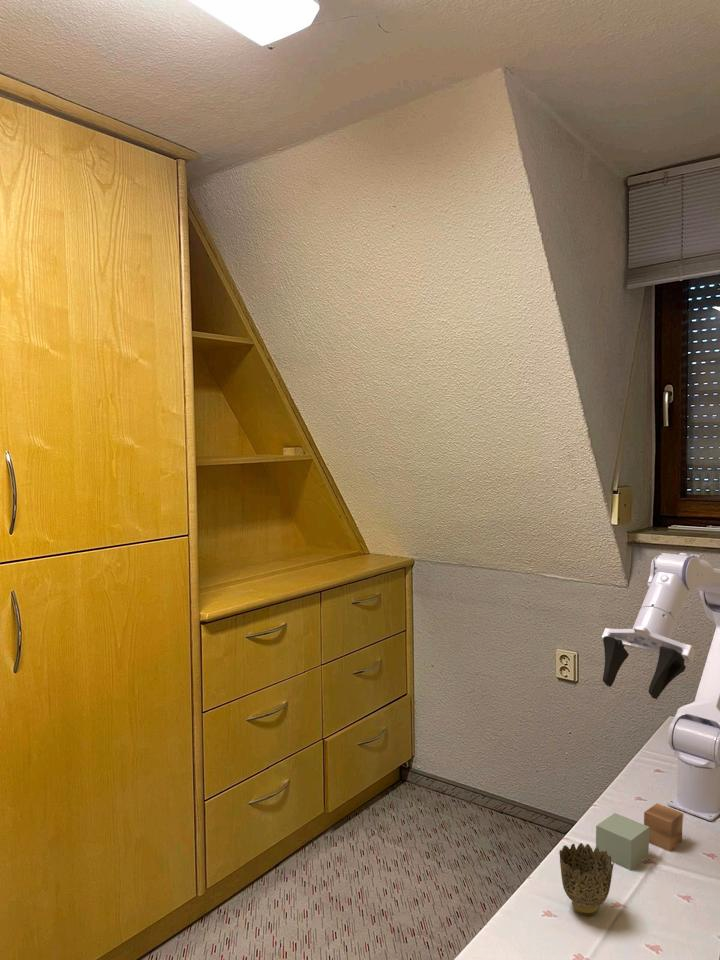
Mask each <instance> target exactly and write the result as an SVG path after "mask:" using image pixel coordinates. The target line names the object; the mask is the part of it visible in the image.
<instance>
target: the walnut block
mask: <svg viewBox="0 0 720 960" xmlns="http://www.w3.org/2000/svg"><path fill="white" fill-rule="evenodd" d="M683 817H684V815H683V812H681V811H680V810H679V811H678V810H675V809H673V808H671V807H667V806H666V805H663V804H660V803H655V804H654V805H652V806H651V807H649V808H648V809H647V810H645V811H644V814H643V825H646V826H648V827H649V845H653V846H655V847H658V848H660V849H663V850H665V851H667V852H669V853H670V852H671V851H672V850H674V849H676V847H677V846H679V845H680V844H681V843H682V842H683V821H684V820H683V819H684V818H683Z"/></svg>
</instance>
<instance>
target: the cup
mask: <svg viewBox="0 0 720 960" xmlns="http://www.w3.org/2000/svg"><path fill="white" fill-rule="evenodd" d="M558 854H559V863H560V864H559V865H560V867H559V868H560V873H561V874H560V875H561V883H562V886H563V890H564V892H565V894H566V896H567V897H568V898H569V900H570V901H571V905H572V908H573V910H574V911H575V912H576V913H577V914H579V915H581V916H584V917H593V916H595V915H597V913H598V911H599V907H600V905H602V904H604V903H605V901H606V900H607V898H608V895H609V893H610V889H611V883H612V877H613V871H614V864H615V863H613V862H611V856H608V852H607V851H606V850H604V851H601V853H600V852H599V848H598V846H597V847H596V846H595V848H594V850H593V848H592V847H591V846H590V844H589V843H587V844H586V845H584V844H583V843H582V842H581V843H579V844H578V845H577V847H576V844H575V843H572V844H571V845H570V847H568V845H565V844H564V846H562V848H561V849H559V853H558Z"/></svg>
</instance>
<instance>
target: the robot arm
mask: <svg viewBox="0 0 720 960" xmlns="http://www.w3.org/2000/svg"><path fill="white" fill-rule="evenodd" d="M702 557H703V556H702V555H700V554H689V553H685V552H679V553H678V554H676V553H669V552H668V553H666V552H661V553H660V554H658V555H656V556H655V557H654V558H652V560H651V565H650V572H649V573H650V574H649V577H648V580H647V588H648V589H647V592H646V594H645V597H644V600H643V602H642V605H641V607H640V609H639V612H638V614H637V616H636V619H635V621H634V624H633V626H632V628H608V627H605V628H604V631H603V633H602V635H601V639H602V642H603V647H604V666H603V667H604V669H603V676H602V681H603V683H604V684H605V686H607V687H609V688H611V687H612V686H613V684H614V682H615V680H616V678H617V675H618V673H619V670H620V668H621V666H622V665H623V664H624V663H625V661H626V660H627V659H628V657H629V652H627V650H626V648H625V647H627V648H633V649H637V650H642V651H645V652H649V653H651V654H658V659H657V663H656V667H655V671H654V674H653V676H652V679H651V680H650V684H649V688H648V694H649V695H650V696H651V698H652V699H655V700H658V698H659V697H660V695H661V694H662V692H664V690H665V689H666V688H667V686H668V685H669V684H670V683H671V682H672V681H673V680H674V679H675V678H677V677H678V676H679V675H680V674H682V673H684V672H685V670H686V667H687V666H686V665H685V662H689V663H693V660H694V658H695V655H696V650H695V649H694V647H693V645H691V644H687V643H683V642H681V641H677V640H675V639H671V637H672V634H673V631H674V629H675V626H676V623H677V620H678V619H679V615H680V613H681V610H682V608H683V605H684V602H685V599H686V597H687V594H688V592H689V591H691V592H694V591H695V592H699V596H700V599H701V602H702V606H703V609H704V613H705V616H706V618H707V619H709V620H710V621H711V622H712V623H714V624H715V630H714V633H713V637H712V640H711V644H710V647H709V650H708V653H707V657H706V661H705V664H704V667H703V671H702V675H701V678H700V681H699V684H698V688H697V691H696V695H695V698H694V700H693V701H692V702H690V703H687V704H684V705H682V706H680V707H678V708H677V711H676V713H675V716H674V717H673V719H672V721H671V722H670V725H669V726H668V730H667V742H668V743H667V744H669V748H670V750H672V751H673V752H674V757H676V758H677V778H676V780H677V783H676V784H677V785H676V795H675V796H674V797H673V798H672V799H670V800H669V801H667V805H668V806H669V807H672V808H674V809H677V810H679V811H683V812H685V813H688V814H691V815H693V816H695V817H698V818H701V819H704V820H706V821H713V820H715V819H716V818H717V817H719V815H720V568H717V567H716V568H714V567H713V566H712V565H711V563H709V562H708V561H707V560H705V559H703V558H702Z"/></svg>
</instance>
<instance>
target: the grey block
mask: <svg viewBox="0 0 720 960" xmlns="http://www.w3.org/2000/svg"><path fill="white" fill-rule="evenodd" d="M595 829H596V830H595V848H596V847H597V846H598V848H599V852H600V853H601V851H604V850H606V851H607V852H608V856H611V863H612V864H613V863H614V864H615V865H617V866H619V867H622V868H624V869H626V870H628V871H632V870H633V869H634V868H635V867H637V866H638V865H639V864H641V862H643V861H644V860H646V858H648V857H649V849H650V848H649V847H650V843H649V827H648V826H646V825H644V823H641V822H638V821H636V820H634V819H632V818H628V817H626V816H623V815H621V814H619V813H616V812H614V813H612V814H611V815H610V816H609V817H606V818H605V819H604V820H602V821H601V822H599V823H598V824H596V825H595Z"/></svg>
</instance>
